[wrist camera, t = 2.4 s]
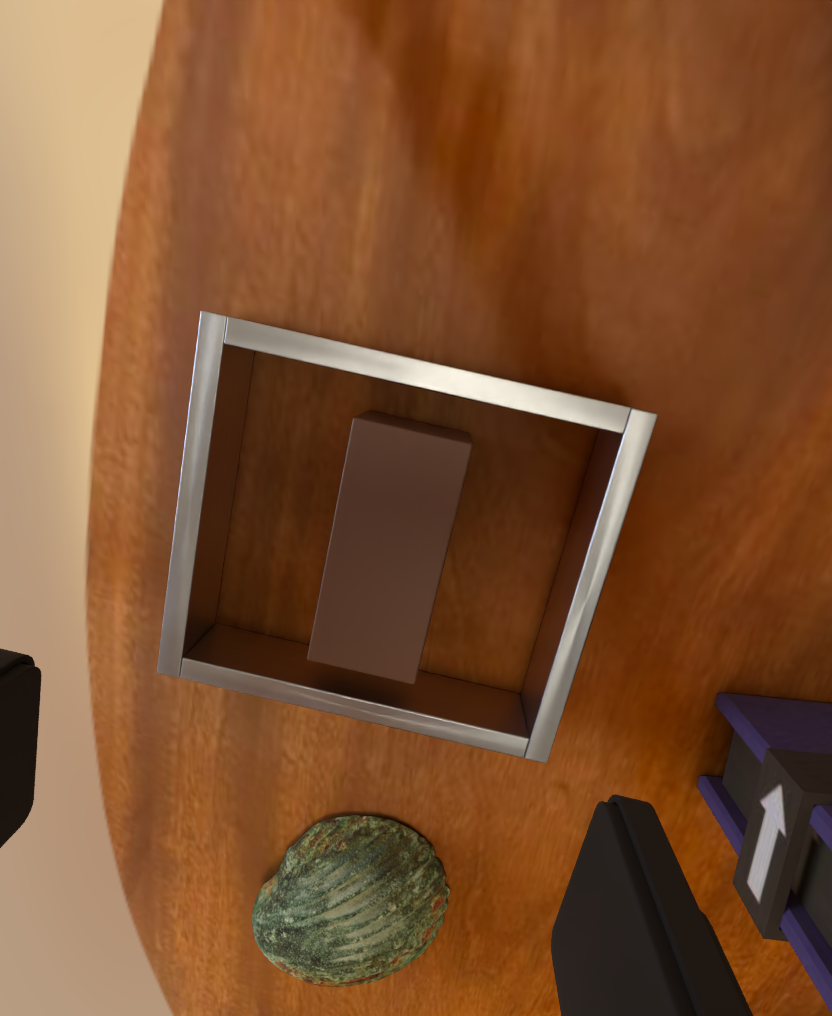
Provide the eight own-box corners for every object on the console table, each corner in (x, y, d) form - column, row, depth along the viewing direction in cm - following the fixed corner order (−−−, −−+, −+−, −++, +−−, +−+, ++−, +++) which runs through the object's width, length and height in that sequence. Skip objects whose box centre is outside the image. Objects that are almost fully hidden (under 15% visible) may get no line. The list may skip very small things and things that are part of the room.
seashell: (435, 1063, 27) (230, 1031, 28) (437, 980, 31) (258, 953, 32) (460, 878, 26) (242, 847, 26) (459, 815, 30) (270, 789, 30)
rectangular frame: (192, 636, 28) (156, 673, 24) (236, 318, 24) (200, 309, 21) (535, 716, 27) (547, 764, 24) (629, 407, 24) (659, 413, 21)
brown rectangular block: (327, 618, 27) (306, 660, 23) (368, 410, 25) (352, 416, 21) (420, 640, 27) (414, 685, 23) (470, 433, 25) (473, 444, 21)
